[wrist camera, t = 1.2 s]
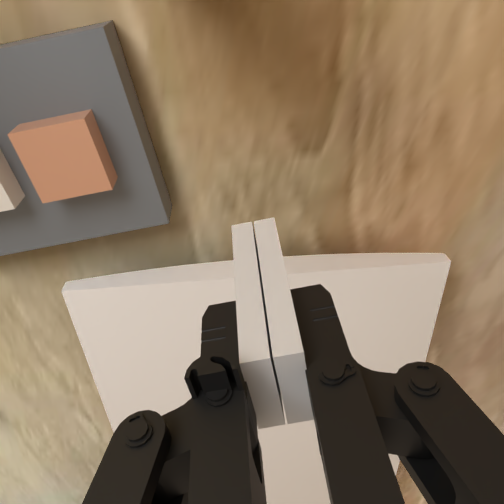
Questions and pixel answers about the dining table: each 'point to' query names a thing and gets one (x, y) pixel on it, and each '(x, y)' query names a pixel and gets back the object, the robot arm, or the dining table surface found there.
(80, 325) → the board
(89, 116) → the tile terracotta
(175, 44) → the dining table surface
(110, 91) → the slate board
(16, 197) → the tile white
